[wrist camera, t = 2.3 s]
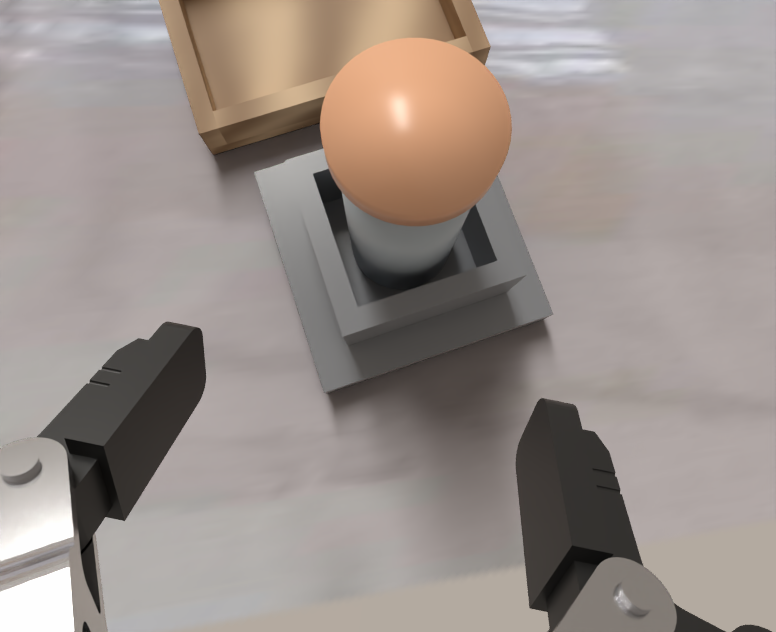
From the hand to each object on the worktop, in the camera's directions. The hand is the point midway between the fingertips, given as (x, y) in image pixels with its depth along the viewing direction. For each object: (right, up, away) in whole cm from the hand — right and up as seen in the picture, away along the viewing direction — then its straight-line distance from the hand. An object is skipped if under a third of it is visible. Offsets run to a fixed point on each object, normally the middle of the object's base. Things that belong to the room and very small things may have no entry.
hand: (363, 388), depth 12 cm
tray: (-3, +18, +17) cm, 25 cm away
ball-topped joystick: (+1, +6, +14) cm, 15 cm away
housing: (+1, +5, +15) cm, 16 cm away
